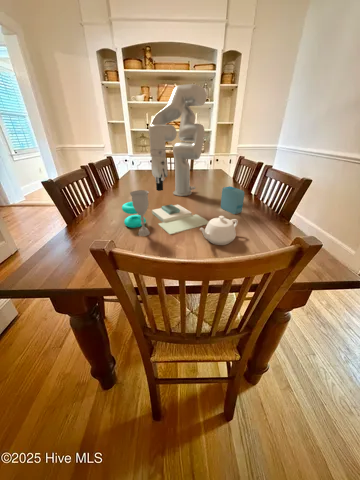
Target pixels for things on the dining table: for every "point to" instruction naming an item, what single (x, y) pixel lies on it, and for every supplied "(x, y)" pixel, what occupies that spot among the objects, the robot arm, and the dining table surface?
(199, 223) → the mat
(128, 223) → the donuts
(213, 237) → the teapot
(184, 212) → the block
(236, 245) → the dining table surface
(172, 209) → the tile
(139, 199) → the chalice
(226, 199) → the data package
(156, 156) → the robot arm
